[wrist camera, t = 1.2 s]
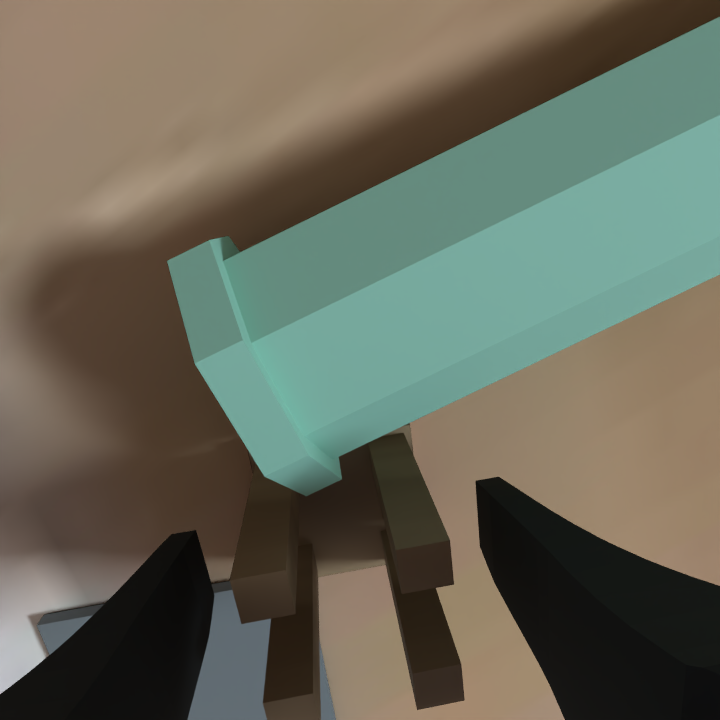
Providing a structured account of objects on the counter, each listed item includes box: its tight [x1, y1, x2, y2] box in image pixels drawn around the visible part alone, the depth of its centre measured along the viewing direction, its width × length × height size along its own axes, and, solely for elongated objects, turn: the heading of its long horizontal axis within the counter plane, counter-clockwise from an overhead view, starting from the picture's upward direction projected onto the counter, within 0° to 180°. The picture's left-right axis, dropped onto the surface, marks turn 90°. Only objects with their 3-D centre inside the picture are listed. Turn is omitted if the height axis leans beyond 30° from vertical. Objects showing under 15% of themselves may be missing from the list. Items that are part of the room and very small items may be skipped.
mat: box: [37, 581, 336, 720], centre depth 16 cm, size 8×8×1 cm
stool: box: [230, 423, 464, 720], centre depth 12 cm, size 4×4×6 cm
